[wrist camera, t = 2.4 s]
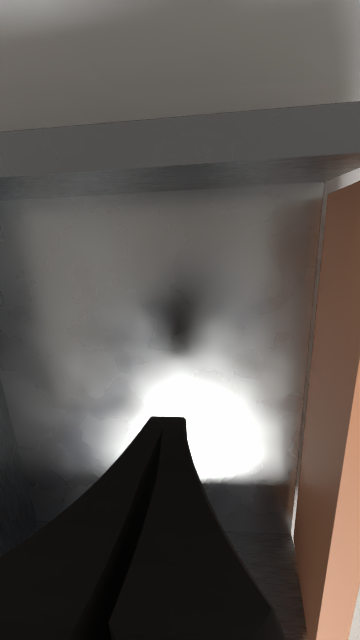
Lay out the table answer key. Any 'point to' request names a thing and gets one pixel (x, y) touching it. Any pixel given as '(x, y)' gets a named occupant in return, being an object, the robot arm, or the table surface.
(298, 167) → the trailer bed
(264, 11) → the table surface
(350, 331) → the panel
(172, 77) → the table surface
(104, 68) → the table surface
